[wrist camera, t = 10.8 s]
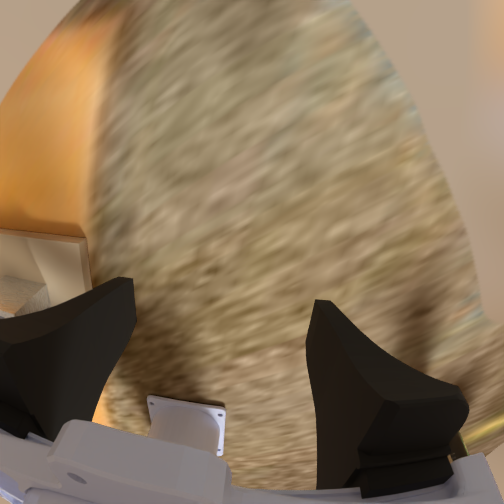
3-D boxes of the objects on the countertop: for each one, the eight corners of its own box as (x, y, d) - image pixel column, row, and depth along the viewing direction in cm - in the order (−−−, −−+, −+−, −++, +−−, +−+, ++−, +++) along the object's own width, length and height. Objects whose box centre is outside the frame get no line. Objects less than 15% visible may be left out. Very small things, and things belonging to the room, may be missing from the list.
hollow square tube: (59, 336, 25) (33, 369, 21) (18, 324, 25) (-9, 352, 21) (46, 284, 23) (13, 314, 19) (5, 275, 23) (-28, 300, 19)
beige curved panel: (108, 370, 28) (88, 407, 23) (9, 340, 28) (-14, 366, 23) (86, 238, 23) (50, 265, 18) (-20, 226, 23) (-55, 245, 18)
